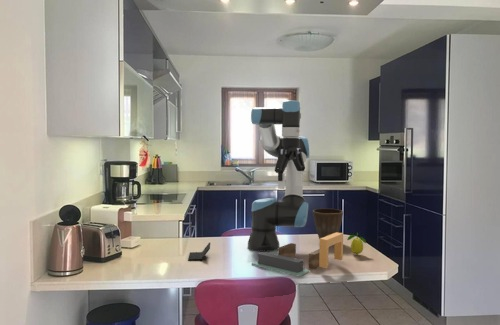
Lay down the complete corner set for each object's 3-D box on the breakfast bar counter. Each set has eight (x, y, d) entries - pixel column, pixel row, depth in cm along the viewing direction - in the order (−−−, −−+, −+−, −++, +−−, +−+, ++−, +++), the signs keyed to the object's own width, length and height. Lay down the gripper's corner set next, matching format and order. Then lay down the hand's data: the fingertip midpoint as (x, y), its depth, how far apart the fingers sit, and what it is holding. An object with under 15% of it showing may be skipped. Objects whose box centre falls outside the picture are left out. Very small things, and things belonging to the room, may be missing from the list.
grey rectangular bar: (257, 263, 164) (257, 253, 164) (263, 261, 167) (263, 251, 167) (297, 272, 152) (298, 262, 152) (303, 270, 155) (303, 260, 155)
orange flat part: (319, 266, 154) (319, 238, 154) (335, 258, 166) (336, 232, 165) (326, 268, 152) (326, 239, 152) (342, 259, 164) (343, 233, 163)
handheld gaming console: (185, 250, 179) (199, 233, 179) (197, 259, 181) (211, 242, 181) (187, 261, 168) (202, 243, 168) (200, 270, 170) (215, 252, 170)
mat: (251, 264, 164) (251, 263, 164) (261, 260, 170) (261, 259, 170) (300, 276, 150) (300, 274, 150) (309, 271, 155) (309, 270, 155)
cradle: (278, 261, 169) (278, 247, 168) (290, 256, 177) (291, 243, 176) (314, 269, 158) (314, 254, 158) (325, 263, 166) (326, 249, 166)
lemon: (346, 254, 180) (347, 232, 179) (352, 252, 184) (352, 230, 184) (360, 257, 176) (361, 235, 175) (366, 254, 180) (366, 232, 180)
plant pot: (325, 247, 193) (326, 214, 192) (306, 240, 206) (306, 209, 205) (348, 243, 200) (349, 211, 200) (328, 237, 213) (329, 207, 213)
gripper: (281, 137, 158) (281, 191, 159) (313, 137, 177) (312, 185, 179) (266, 137, 163) (265, 189, 164) (298, 137, 182) (298, 184, 183)
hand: (290, 187), depth 171 cm, fingers open, 13 cm apart
